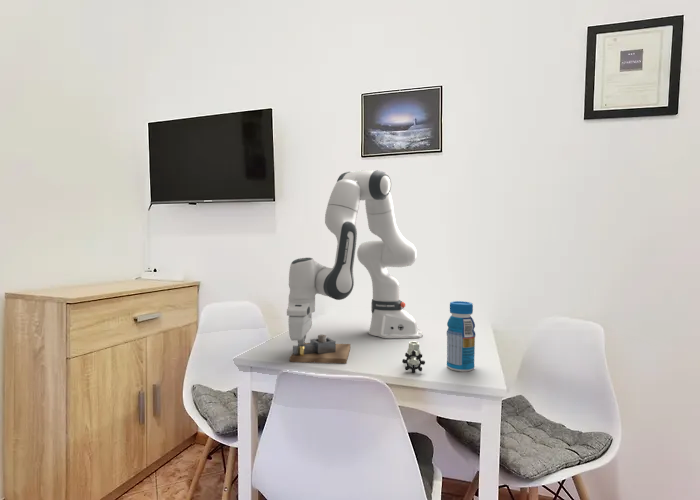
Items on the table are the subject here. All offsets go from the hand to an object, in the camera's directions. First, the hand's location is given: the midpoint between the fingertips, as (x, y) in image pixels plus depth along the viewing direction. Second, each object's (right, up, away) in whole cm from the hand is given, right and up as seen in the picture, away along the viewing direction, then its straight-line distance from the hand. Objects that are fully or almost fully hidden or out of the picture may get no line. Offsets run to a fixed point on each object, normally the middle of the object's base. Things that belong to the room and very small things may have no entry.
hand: (301, 347), depth 131 cm
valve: (+36, -4, -11) cm, 38 cm away
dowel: (+1, -3, -5) cm, 6 cm away
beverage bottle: (+50, -4, -12) cm, 51 cm away
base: (+7, -3, +1) cm, 7 cm away
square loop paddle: (+4, -1, -1) cm, 4 cm away
